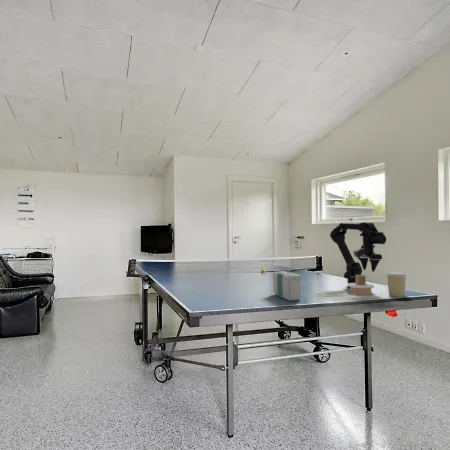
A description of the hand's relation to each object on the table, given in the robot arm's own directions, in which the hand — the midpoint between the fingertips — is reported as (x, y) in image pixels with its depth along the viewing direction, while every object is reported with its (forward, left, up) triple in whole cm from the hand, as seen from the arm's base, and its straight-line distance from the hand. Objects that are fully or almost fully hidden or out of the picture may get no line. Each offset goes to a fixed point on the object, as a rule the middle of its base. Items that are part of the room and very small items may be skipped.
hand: (368, 270), depth 203 cm
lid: (+5, -8, -8) cm, 12 cm away
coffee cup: (+14, +8, -12) cm, 20 cm away
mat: (+5, -25, -12) cm, 28 cm away
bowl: (+5, -8, -12) cm, 15 cm away
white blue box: (+8, -52, -12) cm, 54 cm away
